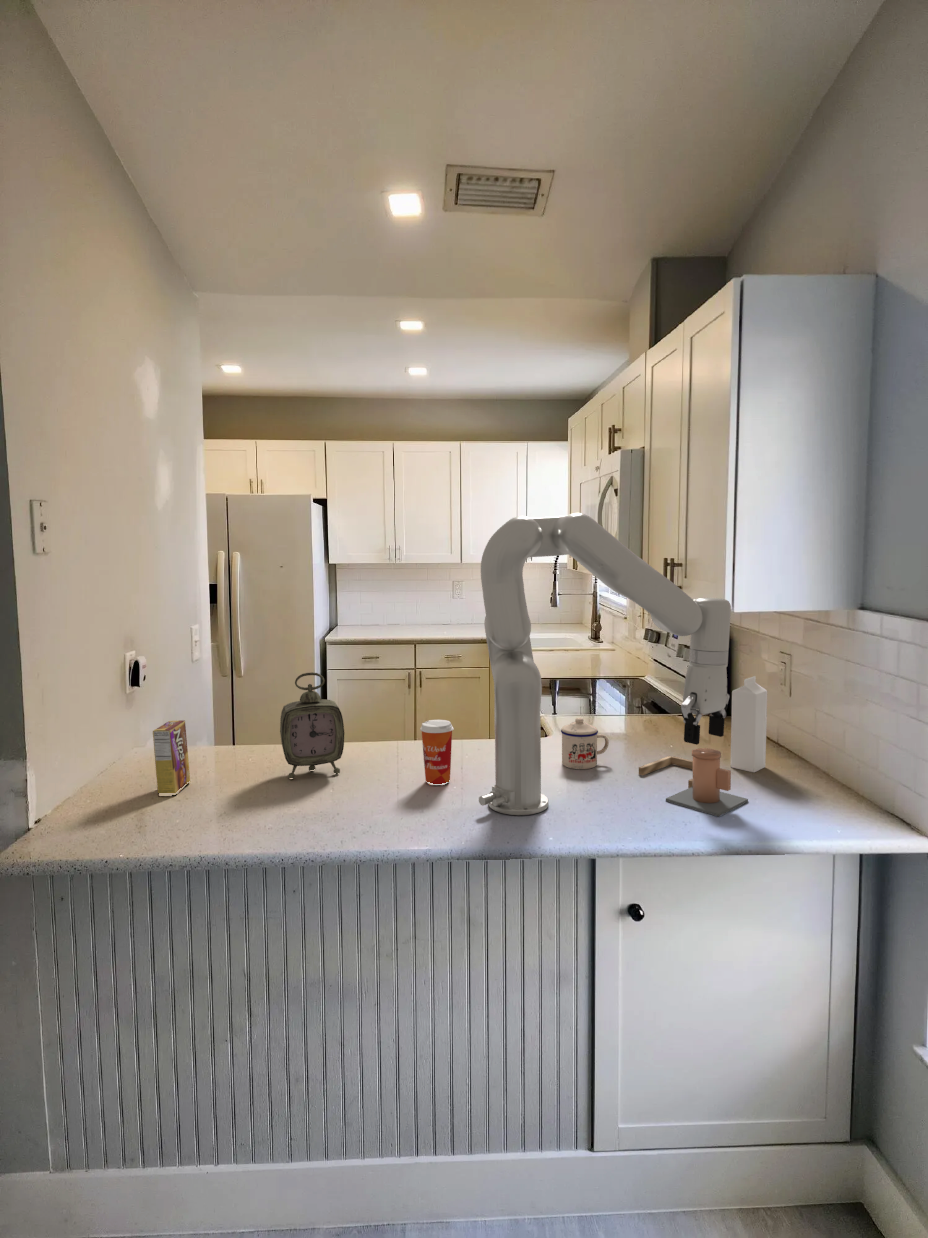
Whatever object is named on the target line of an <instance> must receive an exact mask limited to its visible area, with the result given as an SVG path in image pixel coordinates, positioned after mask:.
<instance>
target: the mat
mask: <svg viewBox="0 0 928 1238" xmlns="http://www.w3.org/2000/svg"><path fill="white" fill-rule="evenodd" d="M665 802H666V803H667V802H668V803H671V804H674V805H677V806H681V807H685V808H688V809H691V810H695V811H697V812H698V811H699V812H701V813H705V814H709V815H711V816H715V817H721V816H723V815H725V814H727V813H729V812H731V811H732V810H735V809H737V808H738V807H741V806H742V805H745V804H747V803H749V798H746V797H742V796H738V795H735V794H731V793H728V792H725V791H720V801H718V802H716V803H703V802H698V801H696V800H694V799H693V787H690V788H688V787H687V788H686V789H684V790H682V791H679V792H677V793H674V794H672V795H670V796H668V797H666V798H665Z"/></svg>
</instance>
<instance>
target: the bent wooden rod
mask: <svg viewBox="0 0 928 1238" xmlns="http://www.w3.org/2000/svg"><path fill="white" fill-rule="evenodd" d="M671 765H674V766H678V767H681V768H685V769H689V770H693V759H692V760H691V759H687V758H682V757H679V756H671V755H667V756H665V757H663V758H659V759H656V760H654V761H652V762H649V763H646V764H644V765H640V766H638V776H643V777H644V776H645V775H647V774H649V773H650V774H651V773H653V772H655V771H658V770H661V769H663V768H665V767H668V766H671ZM720 768H721V769H723V768H722V767H720ZM687 783H688V787H687V789H688V788H690V787H693V778H690V779H689V780H688V782H687Z"/></svg>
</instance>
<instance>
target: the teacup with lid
mask: <svg viewBox="0 0 928 1238" xmlns="http://www.w3.org/2000/svg"><path fill="white" fill-rule="evenodd" d="M560 732H561V764H562V765H563V766H564V767H566V768H569V769H571V770H572V769H573V770H588V769H592V768H595V767H596V766H597V765H598V755H602V754H604V753H605V752H606V751H607V749H608V748H609V745H610V744H609V743H610V742H609V738H608V737H607V736H606V735H605V734H601V733H599V730H598V728H597V727H596V726H595V725H591V724H589V723H587V722H586V721H584V718H583V717H576V718H575V721H572V722H571V723H569V724H566V725H563V726H562V727H561V729H560ZM599 738H600V739H604V746H603V747H602V748H601V749H600V750H598V739H599Z"/></svg>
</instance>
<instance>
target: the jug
mask: <svg viewBox="0 0 928 1238" xmlns="http://www.w3.org/2000/svg"><path fill="white" fill-rule="evenodd" d="M691 756H692V761H693V769H692V779H693V799H694V800H696V801H698V802H703V803H716V802H718V801H720V792H721V791H724V792H725V791H726V792H729V791H730V790H731V789H732V788H731V787H732V786H731V785H732V782H731V781H732V780H731V778H732V777H731V776H732V774H731V773H732V772H731V770H729V769H725V768H722V767H721V758H722V752H721V751H720V750H717V749H714V748H706V747H705V748H704V747H699V748H694V749H692V750H691ZM721 768H722V769H721Z"/></svg>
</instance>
